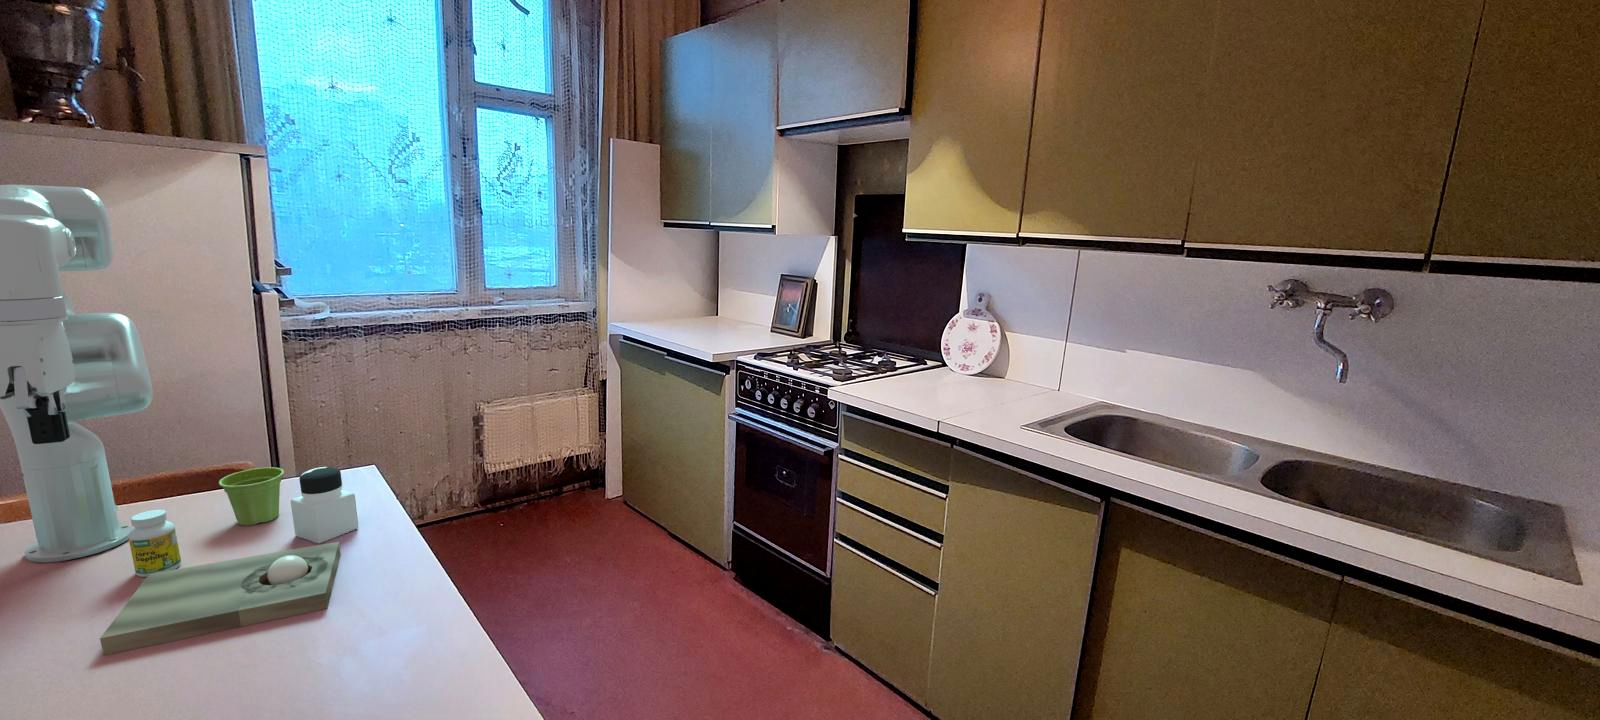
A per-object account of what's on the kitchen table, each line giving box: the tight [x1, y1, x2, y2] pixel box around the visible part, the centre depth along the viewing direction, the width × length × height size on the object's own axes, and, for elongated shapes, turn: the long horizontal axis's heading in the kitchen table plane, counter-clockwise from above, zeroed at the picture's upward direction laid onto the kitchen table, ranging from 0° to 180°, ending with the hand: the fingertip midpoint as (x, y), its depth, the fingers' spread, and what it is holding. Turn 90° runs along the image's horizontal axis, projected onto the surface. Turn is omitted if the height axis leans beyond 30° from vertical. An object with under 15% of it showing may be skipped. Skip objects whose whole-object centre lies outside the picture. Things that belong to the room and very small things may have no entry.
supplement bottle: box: [128, 509, 182, 578], centre depth 106 cm, size 5×5×10 cm
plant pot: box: [218, 466, 285, 526], centre depth 124 cm, size 9×9×9 cm
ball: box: [267, 555, 308, 585], centre depth 102 cm, size 5×5×5 cm
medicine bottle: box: [290, 466, 359, 545], centre depth 120 cm, size 7×7×12 cm
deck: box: [99, 541, 342, 656], centre depth 99 cm, size 18×24×2 cm
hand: (51, 441), depth 92 cm, fingers closed
